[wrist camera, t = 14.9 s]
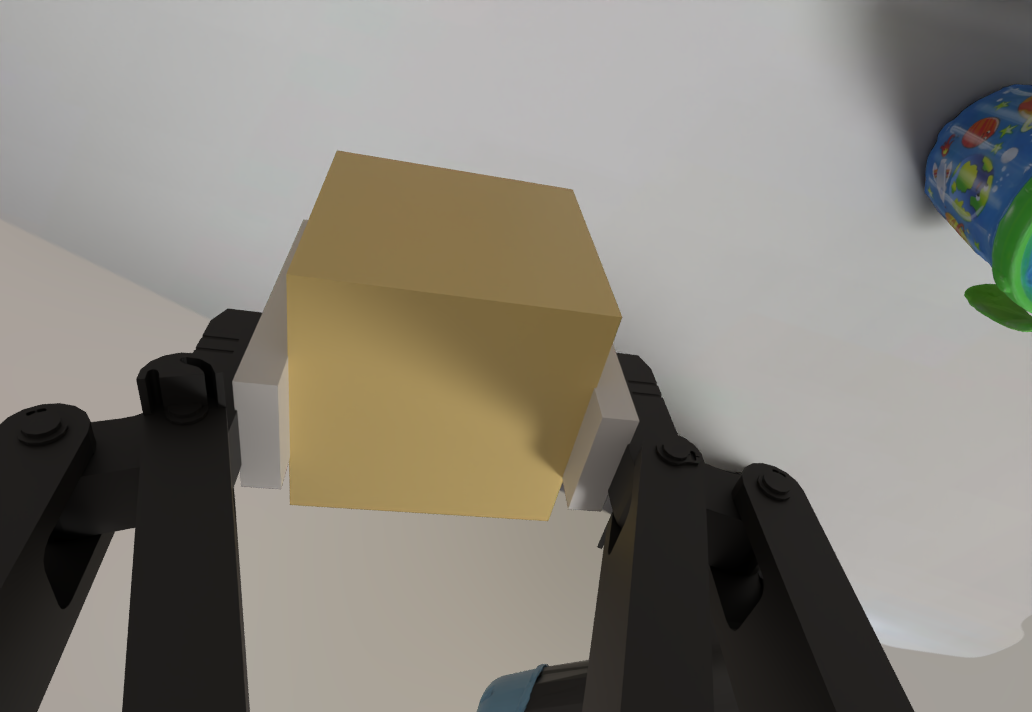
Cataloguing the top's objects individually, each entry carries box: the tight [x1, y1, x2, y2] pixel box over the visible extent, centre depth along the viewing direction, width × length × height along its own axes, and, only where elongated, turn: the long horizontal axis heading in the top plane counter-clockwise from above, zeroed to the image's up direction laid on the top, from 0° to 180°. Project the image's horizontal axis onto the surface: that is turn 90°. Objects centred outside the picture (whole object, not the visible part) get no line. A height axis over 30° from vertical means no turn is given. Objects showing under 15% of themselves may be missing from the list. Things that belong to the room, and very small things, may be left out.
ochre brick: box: [286, 151, 622, 521], centre depth 15 cm, size 6×6×6 cm
